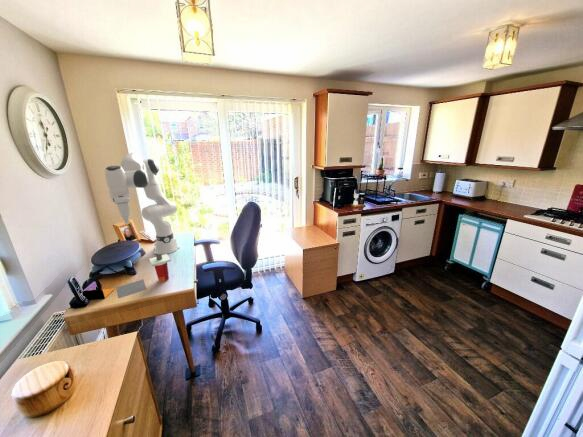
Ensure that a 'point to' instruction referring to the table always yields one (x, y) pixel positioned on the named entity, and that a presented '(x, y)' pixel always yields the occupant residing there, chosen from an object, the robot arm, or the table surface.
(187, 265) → the table surface
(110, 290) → the miniature room corner
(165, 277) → the paper cup
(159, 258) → the lid
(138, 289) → the mat
